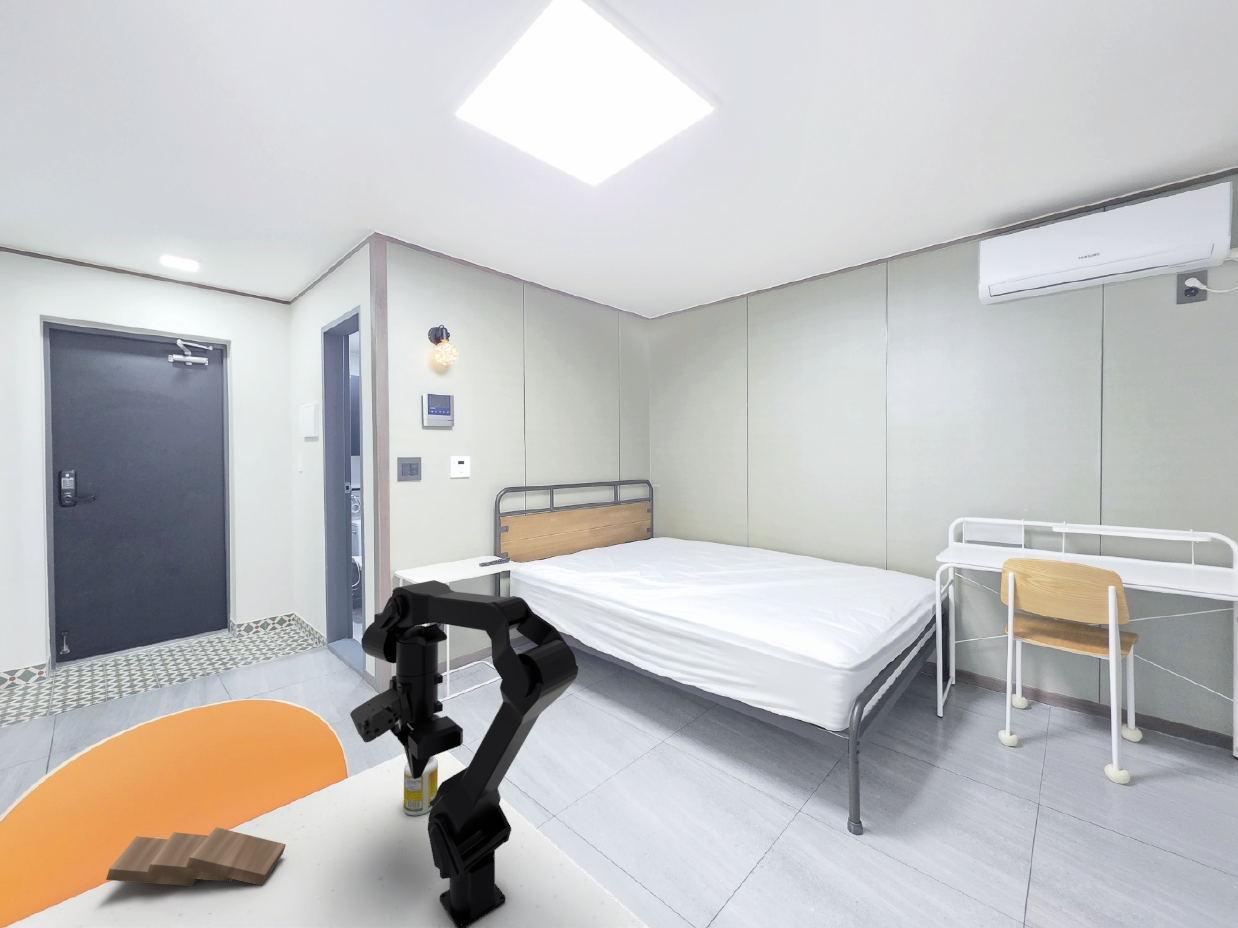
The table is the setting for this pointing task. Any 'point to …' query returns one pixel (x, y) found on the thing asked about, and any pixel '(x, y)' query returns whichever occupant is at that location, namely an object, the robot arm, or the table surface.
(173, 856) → the domino
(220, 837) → the domino
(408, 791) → the supplement bottle
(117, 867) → the domino
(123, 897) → the table surface
